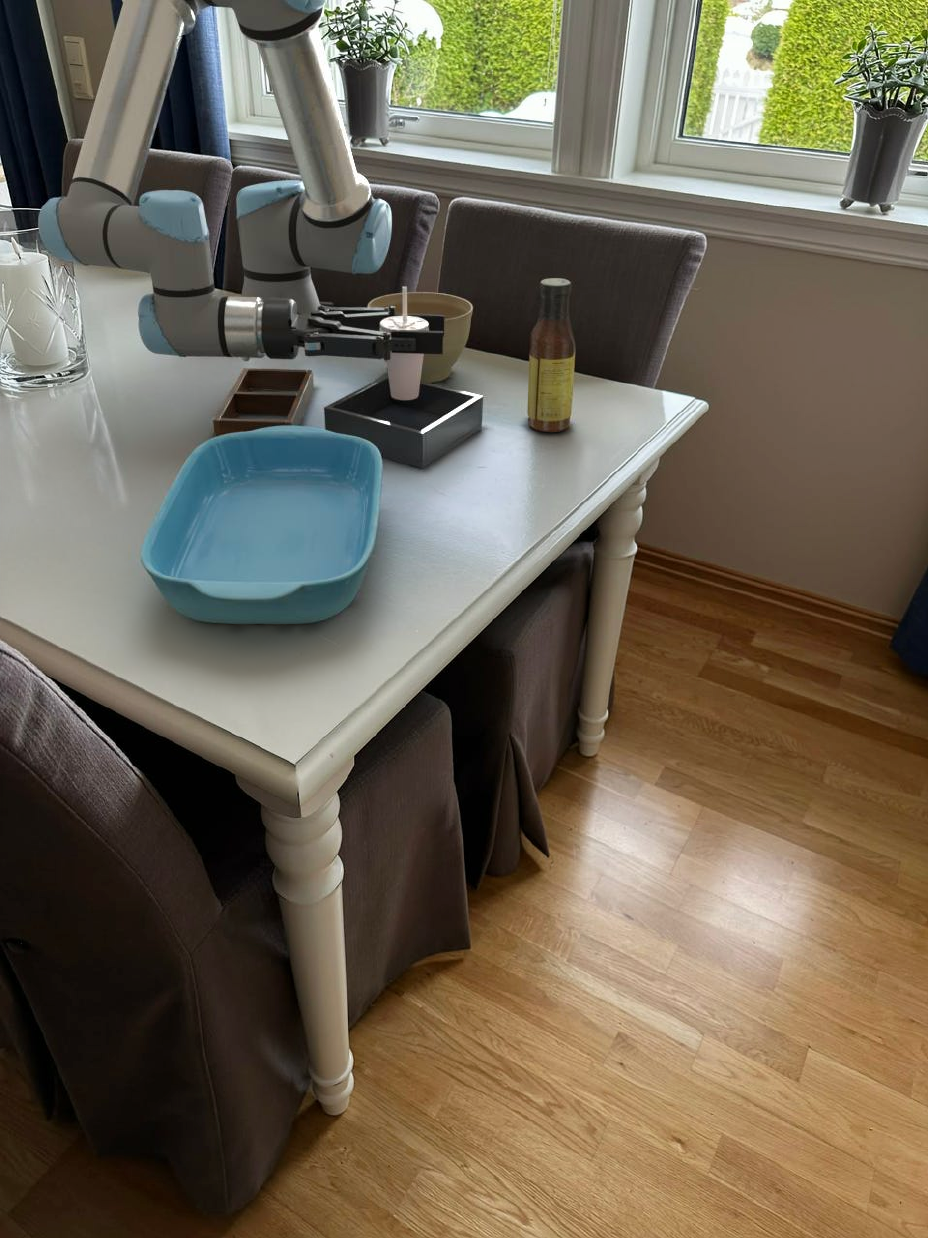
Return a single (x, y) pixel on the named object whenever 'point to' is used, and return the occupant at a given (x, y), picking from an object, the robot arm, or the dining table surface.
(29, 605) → the dining table surface
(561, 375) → the sauce bottle
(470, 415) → the dark grey square tray
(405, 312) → the smoothie
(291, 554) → the casserole dish
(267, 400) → the brown shallow wooden box
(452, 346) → the planter bowl
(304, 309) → the robot arm
